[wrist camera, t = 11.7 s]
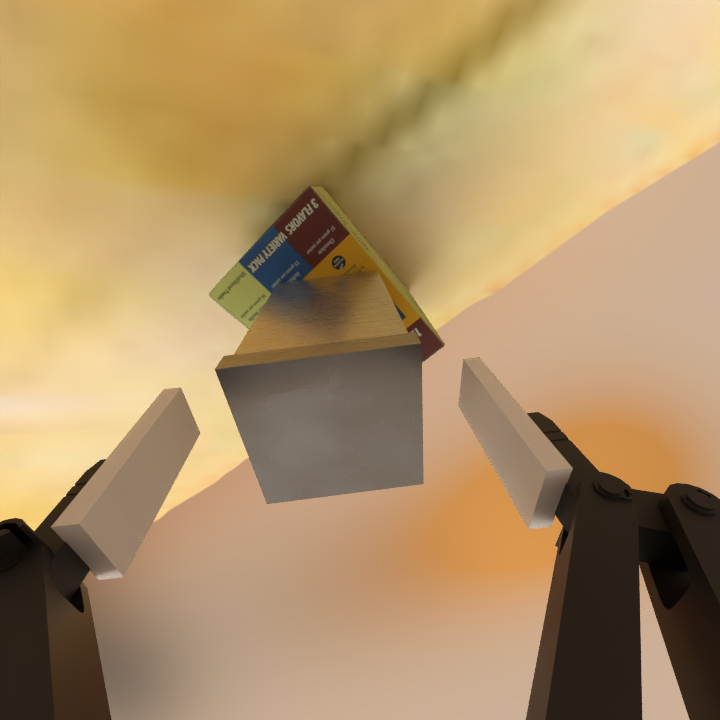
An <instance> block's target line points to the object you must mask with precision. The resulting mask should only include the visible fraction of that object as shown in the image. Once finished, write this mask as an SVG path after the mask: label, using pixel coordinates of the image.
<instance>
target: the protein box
mask: <svg viewBox="0 0 720 720" xmlns="http://www.w3.org/2000/svg"><path fill="white" fill-rule="evenodd" d="M370 271H378V272H379V274H380V276H381V279H382V281H383V283H384V285H385V287H386V289H387V291H388V293H389V295H390V297H391V299H392V301H393V303H394V305H395V307H396V309H397V311H398V313H399V315H400V317H401V319H402V321H403V324H404V326H405V328H406V330H407V332H408V333H412V332H416V334H417V336H418V338H419V340H420V342H421V349H422V362H423V361H425V360H426V359H428V358H429V357H430V356H432V355H433V354H434V353H436V352H437V351H438V350H439V349H441V348H443V347H444V346H445V344H444V342H443V341H442V339H441V338H440V336H439V335H438V334H437V332H436V331H435V329H434V328H433V326H432V325H431V323H430V322H429V320H428V319H427V317H426V316H425V314H424V313H423V311H422V310H421V308H420V307H419V305H418V304H417V303H416V301H415V300H414V298H413V297H412V295H411V294H410V292H409V291H408V290H407V288H406V287H405V286H404V285H403V283H402V282H401V281H400V280H399V279H398V277H397V276H396V275H395V274H394V273H393V271H392V270H391V269H390V268H389V267H388V265H387V264H386V263H385V262H384V261H383V259H382V258H381V257H380V256H379V255H378V253H377V252H376V251H375V250H374V249H373V247H372V246H371V245H370V244H369V242H368V241H367V240H366V239H365V238H364V236H363V235H362V234H361V233H360V232H359V230H358V229H357V228H356V227H355V226H354V224H353V223H352V222H351V221H350V219H349V218H348V217H347V216H346V215H345V213H344V212H343V211H342V210H341V209H340V207H339V206H338V205H337V204H336V202H335V201H334V200H333V199H332V198H331V196H330V195H329V194H328V193H327V192H326V190H325V189H324V188H323V187H317V186H316V187H315V186H314V187H313V186H309V187H308V188H307V189H306V190H305V191H304V192H303V193H302V194H301V195H300V196H299V197H298V198H297V199H296V200H295V201H294V202H293V203H292V204H291V206H290V207H289V208H288V209H287V210H286V211H285V212H284V213H283V214H282V215H281V216H280V217H279V218H278V219H277V220H276V221H275V222H274V224H273V225H272V226H271V227H270V228H269V229H268V230H267V231H266V232H265V233H264V234H263V235H262V236H261V237H260V239H259V240H258V241H257V242H256V243H255V244H254V245H253V246H252V247H251V248H250V249H249V250H248V251H247V253H246V254H245V255H244V256H243V257H242V258H241V259H240V260H239V261H238V262H237V263H236V264H235V266H234V267H233V268H232V269H231V270H230V271H229V272H228V273H227V274H226V275H225V276H224V277H223V278H222V280H221V281H220V282H219V283H218V284H217V285H216V286H215V288H214V289H213V290H212V291H211V292H210V294H209V296H210V297H211V298H212V299H213V300H215V301H216V302H217V303H218V304H219V305H221V306H222V307H223V308H224V309H225V310H226V311H228V312H229V313H230V314H231V315H233V316H234V317H235V318H236V319H237V320H239V321H240V322H241V323H242V324H243V325H245V326H246V327H247V328H248V329H250V327H251V326H252V324H253V322H254V321H255V319H256V318H257V316H258V314H259V313H260V311H261V309H262V308H263V306H264V304H265V303H266V301H267V300H268V298H269V296H270V295H271V293H272V291H273V290H274V288H275V286H276V285H277V283H282V282H290V281H298V280H306V279H314V278H322V277H330V276H338V275H346V274H354V273H362V272H370Z"/></svg>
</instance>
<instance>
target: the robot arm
mask: <svg viewBox="0 0 720 720" xmlns="http://www.w3.org/2000/svg"><path fill="white" fill-rule="evenodd" d="M459 407H460V409H461V411H462V413H463V414H464V416H465V418H466V420H467V421H468V423H469V425H470V427H471V428H472V430H473V432H474V434H475V436H476V437H477V439H478V441H479V443H480V444H481V446H482V448H483V450H484V451H485V453H486V455H487V457H488V459H489V460H490V462H491V464H492V466H493V467H494V469H495V471H496V473H497V474H498V476H499V478H500V480H501V481H502V483H503V485H504V487H505V488H506V490H507V492H508V494H509V496H510V497H511V499H512V501H513V503H514V504H515V506H516V508H517V510H518V511H519V513H520V515H521V516H522V519H523V520H524V522H525V524H526V526H527V527H528V529H534V528H542V527H551V526H552V523H553V520H554V517H555V515H556V516H557V518H558V519H559V521H560V522H561V524H562V525H563V528H562V530H561V533H560V535H559V538H558V540H557V543H556V546H557V547H558V550H557V556H556V561H555V566H554V571H553V577H552V583H551V588H550V593H549V598H548V604H547V609H546V614H545V620H544V625H543V631H542V636H541V641H540V647H539V652H538V658H537V663H536V668H535V673H534V679H533V684H532V689H531V695H530V700H529V706H528V711H527V717H526V720H642V686H641V638H640V592H639V565H640V568H641V572H642V575H643V577H644V581H645V584H646V587H647V590H648V593H649V596H650V599H651V602H652V605H653V608H654V611H655V615H656V618H657V620H658V624H659V627H660V630H661V633H662V636H663V639H664V642H665V645H666V648H667V651H668V654H669V658H670V661H671V664H672V667H673V670H674V673H675V676H676V679H677V682H678V685H679V688H680V691H681V694H682V697H683V700H684V704H685V706H686V710H687V712H688V716H689V719H690V720H720V499H718V498H717V497H716V496H714V495H713V494H711V493H709V492H707V491H705V490H703V489H701V488H698V487H695V486H692V485H689V484H680V483H676V484H672V485H670V486H669V487H668V488H667V490H666V491H665V493H664V494H660V493H654V492H647V491H641V490H635V489H631V487H630V486H629V485H628V484H626V483H625V482H623V481H622V480H621V479H619V478H617V477H615V476H612V475H610V474H607V473H603V472H599V471H598V470H597V469H596V468H595V467H594V466H593V464H591V462H590V461H589V460H588V459H587V458H586V457H585V456H584V455H583V454H582V453H581V451H580V450H579V449H578V448H577V447H576V446H575V445H574V444H573V443H572V442H571V441H570V440H568V438H567V437H566V435H565V434H564V433H563V432H561V430H560V429H559V428H558V427H557V426H556V425H555V423H554V422H553V421H552V420H550V419H549V418H547V417H545V416H544V415H542V414H541V413H539V412H535V413H526V412H525V411H524V410H523V408H522V407H521V406H520V405H519V404H518V403H517V401H516V400H515V399H514V398H513V397H512V396H511V394H510V393H509V392H508V391H507V390H506V389H505V387H504V386H503V385H502V384H501V382H500V381H499V380H498V379H497V378H496V376H495V375H494V374H493V373H492V372H491V371H490V369H489V368H488V367H487V366H486V365H485V363H484V362H483V361H482V360H481V359H480V357H478V358H468V359H463V368H462V378H461V388H460V397H459ZM199 434H200V431H199V429H198V427H197V424H196V422H195V420H194V417H193V415H192V413H191V410H190V408H189V406H188V403H187V401H186V399H185V396H184V394H183V392H182V389H181V388H172V389H164V390H163V391H162V392H161V393H160V395H159V396H158V397H157V398H156V400H155V401H154V402H153V403H152V404H151V406H150V407H149V408H148V409H147V410H146V412H145V413H144V414H143V415H142V417H141V418H140V419H139V420H138V421H137V423H136V424H135V425H134V426H133V428H132V429H131V430H130V431H129V432H128V434H127V435H126V436H125V437H124V439H123V440H122V441H121V442H120V443H119V445H118V446H117V447H116V448H115V449H114V451H113V452H112V453H111V454H110V456H109V457H108V458H107V459H104V460H100V461H99V462H97V463H96V464H95V465H94V466H92V467H91V468H90V469H88V470H87V471H86V472H85V473H84V474H83V475H82V477H81V478H80V479H79V480H78V481H77V482H76V484H75V486H73V487H72V488H71V489H70V491H69V492H68V493H67V494H66V497H64V498H63V499H62V500H61V501H60V502H59V503H58V505H57V506H56V507H55V508H54V509H53V510H52V512H51V513H50V514H49V515H48V516H47V517H46V519H45V520H44V521H43V522H42V523H41V524H40V526H39V527H38V528H37V529H36V530H35V531H33V530H32V529H31V528H30V527H29V526H28V525H27V524H26V523H25V522H24V521H23V520H22V519H18V518H13V519H8V520H4V521H2V522H0V720H111V715H110V710H109V704H108V699H107V693H106V688H105V682H104V677H103V672H102V666H101V661H100V656H99V650H98V644H97V639H96V633H95V629H94V623H93V617H92V612H91V606H90V601H89V595H88V591H87V587H86V586H85V584H84V583H83V582H82V581H83V580H84V578H85V577H86V575H87V573H88V572H89V570H90V571H92V573H93V574H94V575H95V576H96V577H97V578H98V579H99V580H103V579H111V578H120V577H124V575H125V573H126V571H127V570H128V568H129V566H130V564H131V562H132V560H133V559H134V556H135V555H136V553H137V551H138V549H139V547H140V545H141V543H142V541H143V540H144V538H145V536H146V534H147V532H148V530H149V528H150V527H151V525H152V523H153V521H154V519H155V517H156V515H157V513H158V512H159V510H160V508H161V506H162V504H163V502H164V500H165V498H166V496H167V495H168V493H169V491H170V489H171V487H172V485H173V483H174V481H175V480H176V478H177V476H178V474H179V472H180V470H181V468H182V466H183V464H184V463H185V461H186V459H187V457H188V455H189V453H190V451H191V449H192V448H193V446H194V444H195V442H196V440H197V438H198V436H199Z"/></svg>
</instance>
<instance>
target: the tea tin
mask: <svg viewBox="0 0 720 720" xmlns="http://www.w3.org/2000/svg"><path fill="white" fill-rule="evenodd" d="M215 371H216V373H217V376H218V378H219V381H220V384H221V386H222V389H223V391H224V394H225V397H226V399H227V402H228V404H229V407H230V409H231V412H232V415H233V417H234V420H235V422H236V425H237V428H238V430H239V433H240V435H241V438H242V440H243V443H244V446H245V448H246V451H247V453H248V456H249V458H250V461H251V463H252V466H253V469H254V471H255V474H256V477H257V479H258V481H259V484H260V487H261V490H262V492H263V495H264V497H265V500H266V502H267V504H270V503H278V502H286V501H294V500H302V499H309V498H317V497H325V496H333V495H340V494H349V493H356V492H364V491H372V490H380V489H387V488H395V487H402V486H411V485H419V484H423V423H422V422H423V420H422V349H421V342H420V340H419V338H418V336H417V334H416V332H412V333H408V332H407V330H406V328H405V326H404V324H403V321H402V319H401V317H400V315H399V313H398V311H397V309H396V307H395V305H394V303H393V301H392V299H391V297H390V295H389V293H388V291H387V289H386V287H385V285H384V283H383V281H382V279H381V276H380V274H379V272H378V271H370V272H362V273H354V274H346V275H338V276H330V277H322V278H314V279H306V280H298V281H290V282H282V283H277V285H276V286H275V288H274V290H273V291H272V293H271V295H270V296H269V298H268V300H267V301H266V303H265V304H264V306H263V308H262V309H261V311H260V313H259V314H258V316H257V318H256V319H255V321H254V322H253V324H252V326H251V327H250V329H249V331H248V332H247V334H246V336H245V337H244V339H243V341H242V342H241V344H240V345H239V347H238V349H237V350H236V352H235V354H234V355H229V356H224V357H223V358H222V360H221V361H220V363H219V364H218V366H217V367H216V369H215Z"/></svg>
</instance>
